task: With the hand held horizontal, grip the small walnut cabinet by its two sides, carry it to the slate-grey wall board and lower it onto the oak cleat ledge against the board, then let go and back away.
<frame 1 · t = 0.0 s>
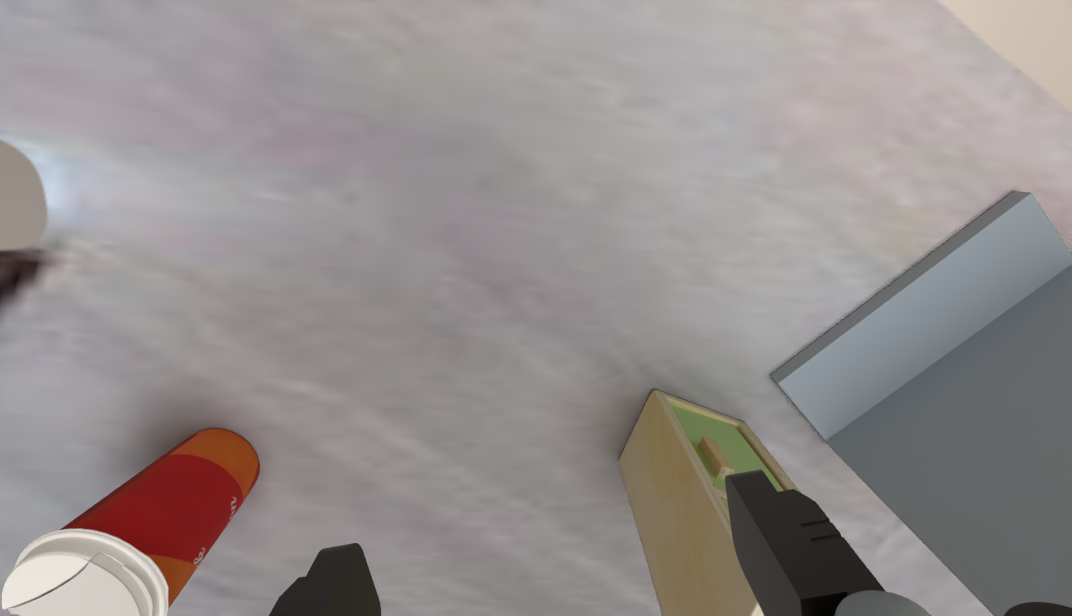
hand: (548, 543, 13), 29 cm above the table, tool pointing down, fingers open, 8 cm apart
wall board: (937, 354, 43), on the table
coffee cup: (223, 461, 45), on the table
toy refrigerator: (684, 436, 45), on the table
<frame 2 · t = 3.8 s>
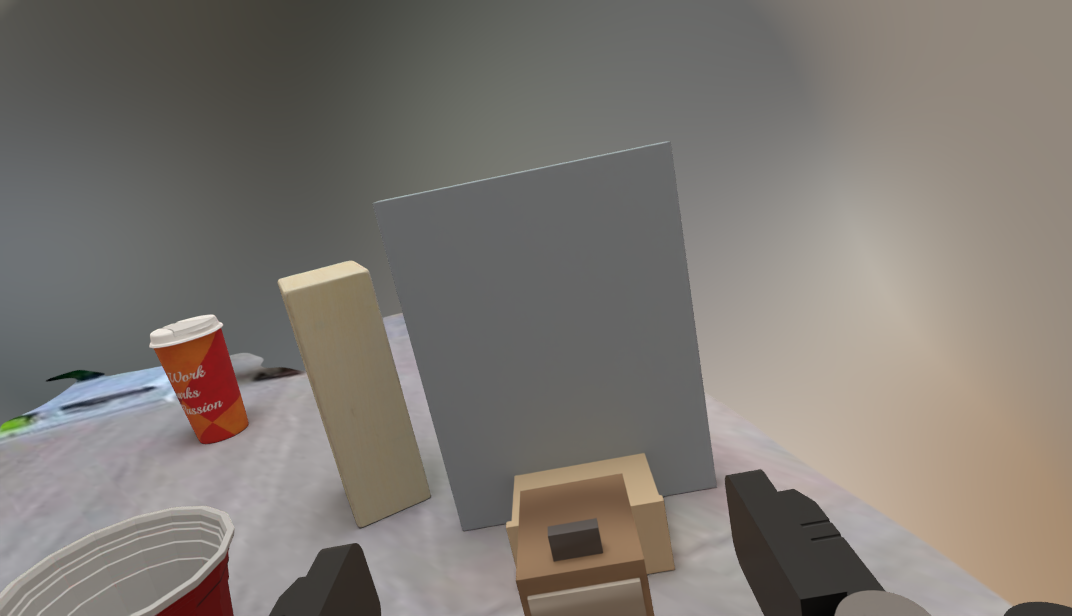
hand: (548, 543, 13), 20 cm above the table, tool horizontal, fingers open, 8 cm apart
wall board: (587, 503, 46), on the table
coffee cup: (225, 433, 77), on the table
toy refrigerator: (391, 494, 54), on the table
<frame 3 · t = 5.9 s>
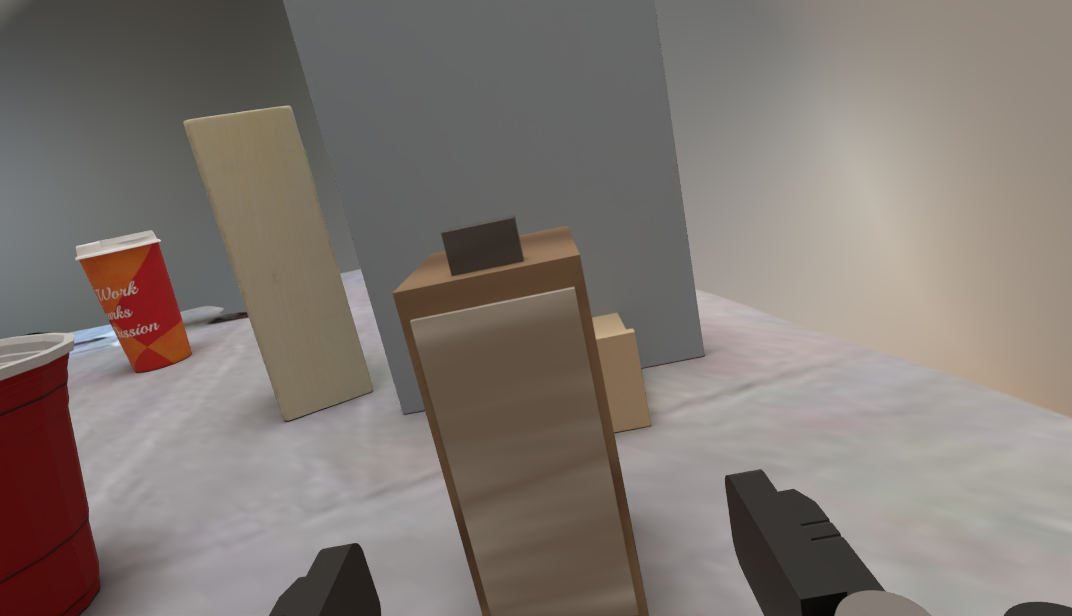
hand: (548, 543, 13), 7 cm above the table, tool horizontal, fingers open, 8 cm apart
wall board: (551, 381, 39), on the table
coffee cup: (165, 363, 69), on the table
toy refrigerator: (330, 393, 47), on the table
walnut cabinet: (567, 575, 21), on the table
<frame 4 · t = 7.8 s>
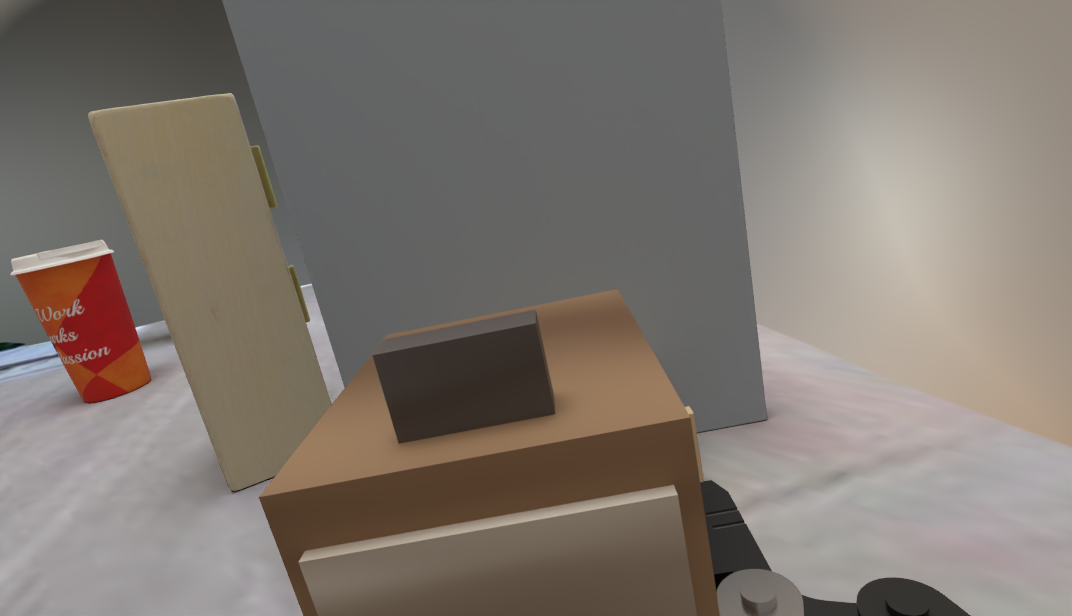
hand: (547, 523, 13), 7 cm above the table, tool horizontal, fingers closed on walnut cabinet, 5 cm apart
wall board: (568, 448, 30), on the table
coffee cup: (119, 391, 61), on the table
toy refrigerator: (293, 448, 38), on the table
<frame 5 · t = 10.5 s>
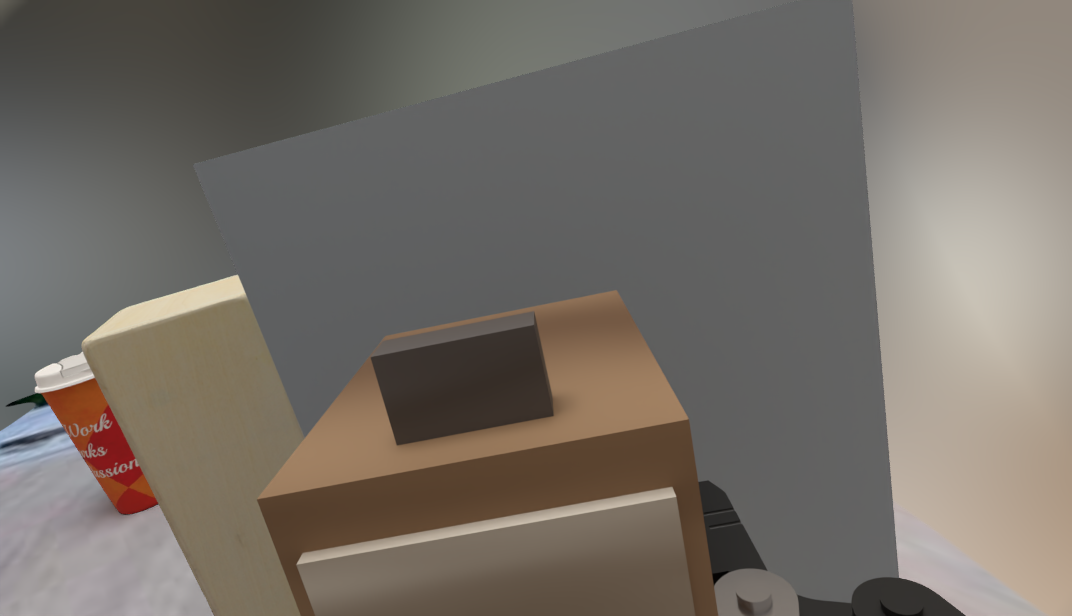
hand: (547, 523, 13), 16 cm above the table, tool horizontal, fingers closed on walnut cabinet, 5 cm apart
coffee cup: (154, 496, 58), on the table
when the fingers open (12 cm above the table, at t = 13.1 s): walnut cabinet drops 1 cm, resting on wall board.
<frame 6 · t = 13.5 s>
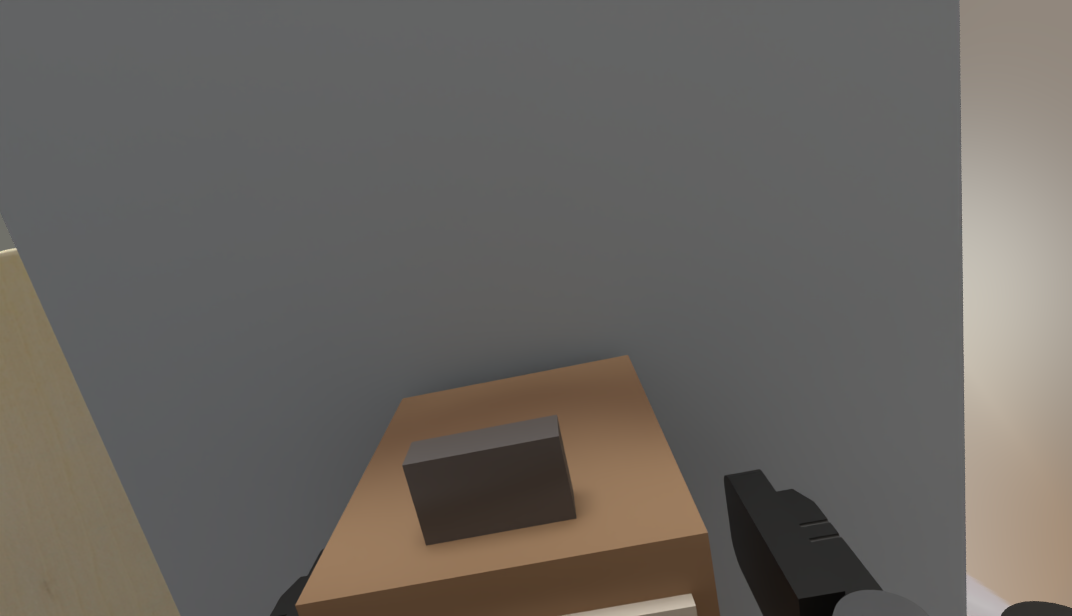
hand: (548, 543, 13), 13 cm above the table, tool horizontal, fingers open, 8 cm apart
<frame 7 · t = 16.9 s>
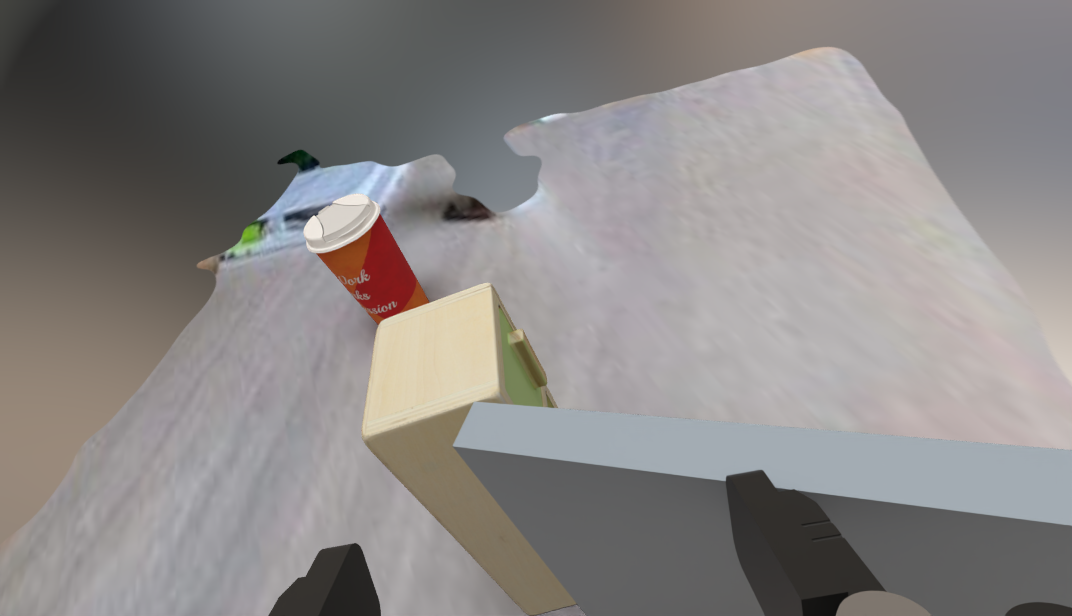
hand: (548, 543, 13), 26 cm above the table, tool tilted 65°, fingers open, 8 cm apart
coffee cup: (409, 320, 68), on the table
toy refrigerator: (573, 549, 41), on the table
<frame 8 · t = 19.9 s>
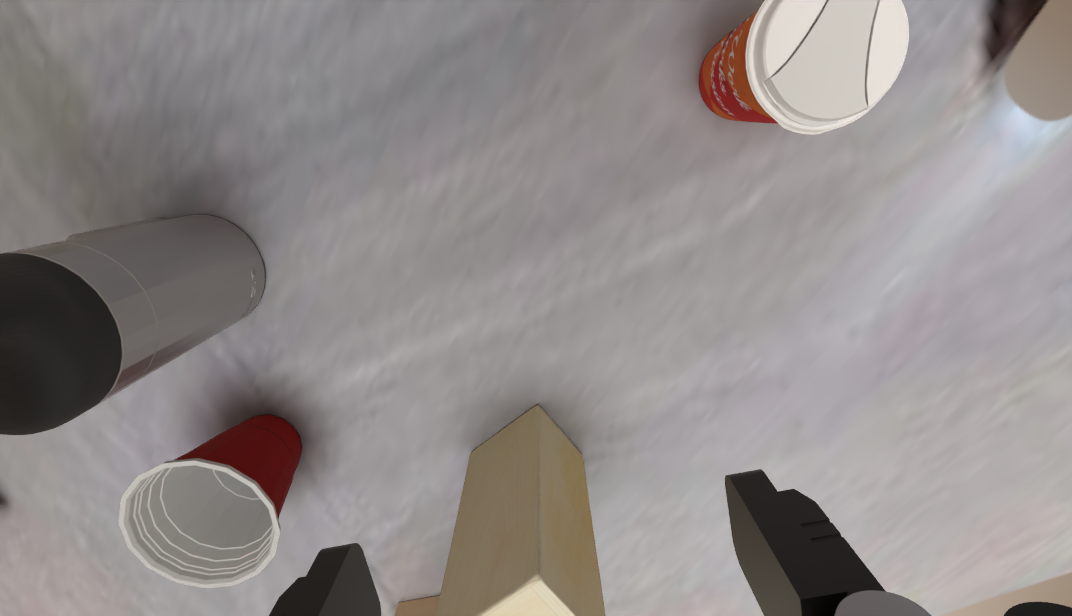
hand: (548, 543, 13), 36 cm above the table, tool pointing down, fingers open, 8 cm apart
coffee cup: (736, 79, 44), on the table
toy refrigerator: (528, 456, 53), on the table
plastic cup: (273, 444, 52), on the table
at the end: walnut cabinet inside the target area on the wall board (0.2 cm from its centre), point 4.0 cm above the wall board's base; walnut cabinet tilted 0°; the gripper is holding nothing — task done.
